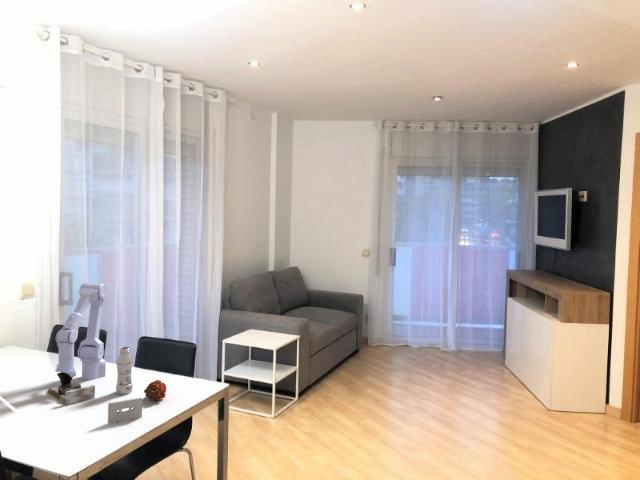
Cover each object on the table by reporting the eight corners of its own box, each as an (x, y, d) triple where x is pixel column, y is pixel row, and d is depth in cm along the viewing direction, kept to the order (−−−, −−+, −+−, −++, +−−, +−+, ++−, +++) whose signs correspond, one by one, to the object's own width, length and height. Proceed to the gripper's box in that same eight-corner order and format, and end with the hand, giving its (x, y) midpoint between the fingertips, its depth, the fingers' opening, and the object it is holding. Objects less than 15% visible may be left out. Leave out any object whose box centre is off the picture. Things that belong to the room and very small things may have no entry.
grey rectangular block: (75, 390, 206) (75, 382, 206) (80, 393, 203) (81, 385, 203) (58, 394, 201) (58, 386, 201) (63, 397, 198) (63, 389, 197)
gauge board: (73, 387, 212) (73, 373, 212) (94, 400, 199) (94, 385, 199) (46, 393, 204) (46, 379, 204) (66, 407, 191) (66, 392, 191)
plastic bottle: (135, 393, 208) (136, 347, 207) (123, 398, 202) (124, 351, 201) (124, 390, 211) (125, 345, 210) (112, 395, 205) (113, 348, 204)
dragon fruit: (155, 409, 197) (152, 402, 208) (173, 394, 200) (169, 388, 211) (142, 393, 196) (140, 387, 206) (160, 378, 199) (157, 373, 210)
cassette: (141, 416, 186) (141, 396, 186) (142, 418, 185) (142, 398, 184) (107, 423, 179) (107, 402, 179) (108, 424, 178) (108, 404, 177)
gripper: (49, 355, 205) (48, 387, 206) (63, 363, 196) (62, 396, 197) (66, 352, 211) (66, 383, 211) (81, 360, 201) (80, 392, 202)
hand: (65, 389), depth 204 cm, fingers closed
